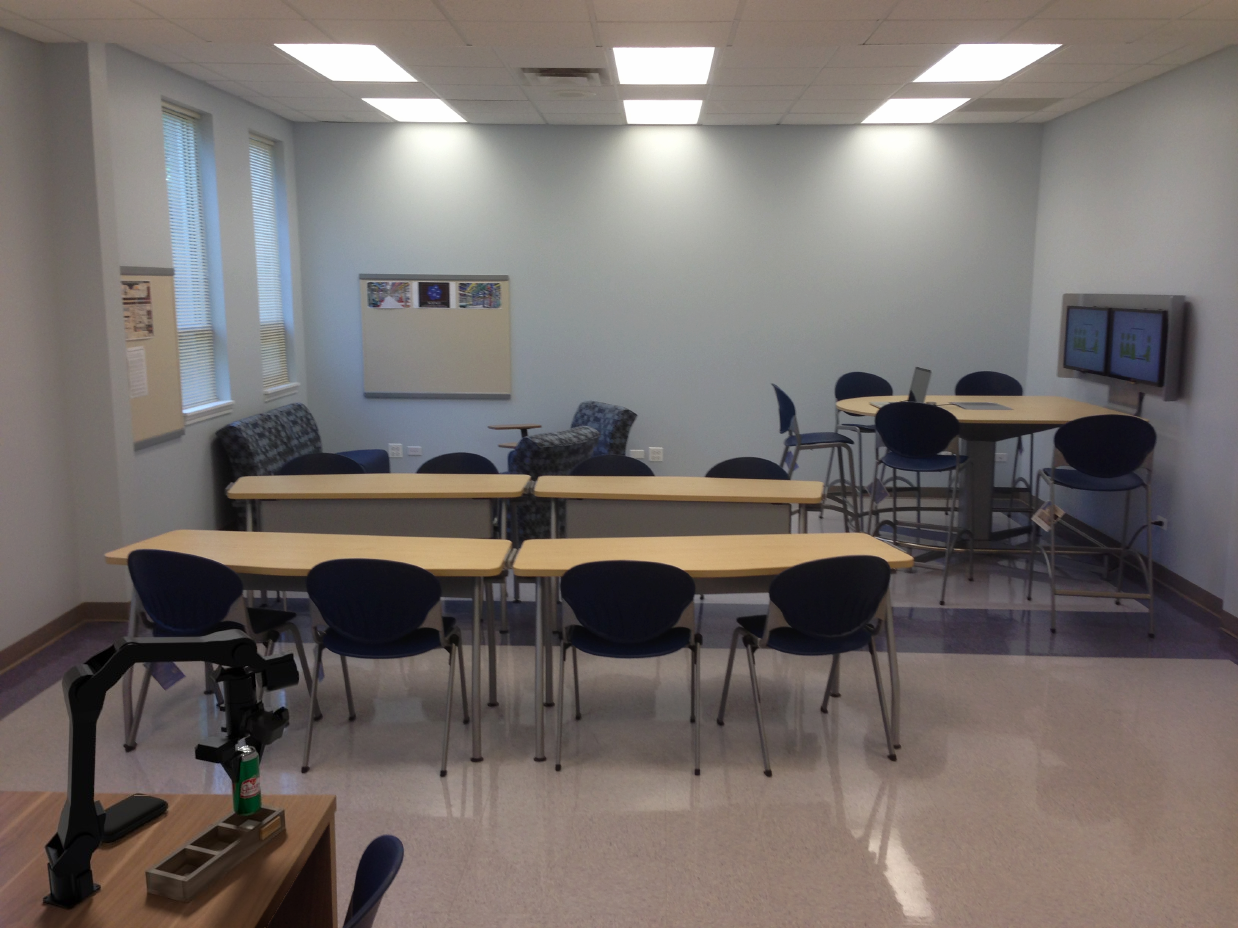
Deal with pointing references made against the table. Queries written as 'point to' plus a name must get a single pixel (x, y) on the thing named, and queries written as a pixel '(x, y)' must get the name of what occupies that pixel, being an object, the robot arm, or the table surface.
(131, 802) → the carrying case or bag
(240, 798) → the soda can
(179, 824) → the table surface
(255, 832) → the can rack
